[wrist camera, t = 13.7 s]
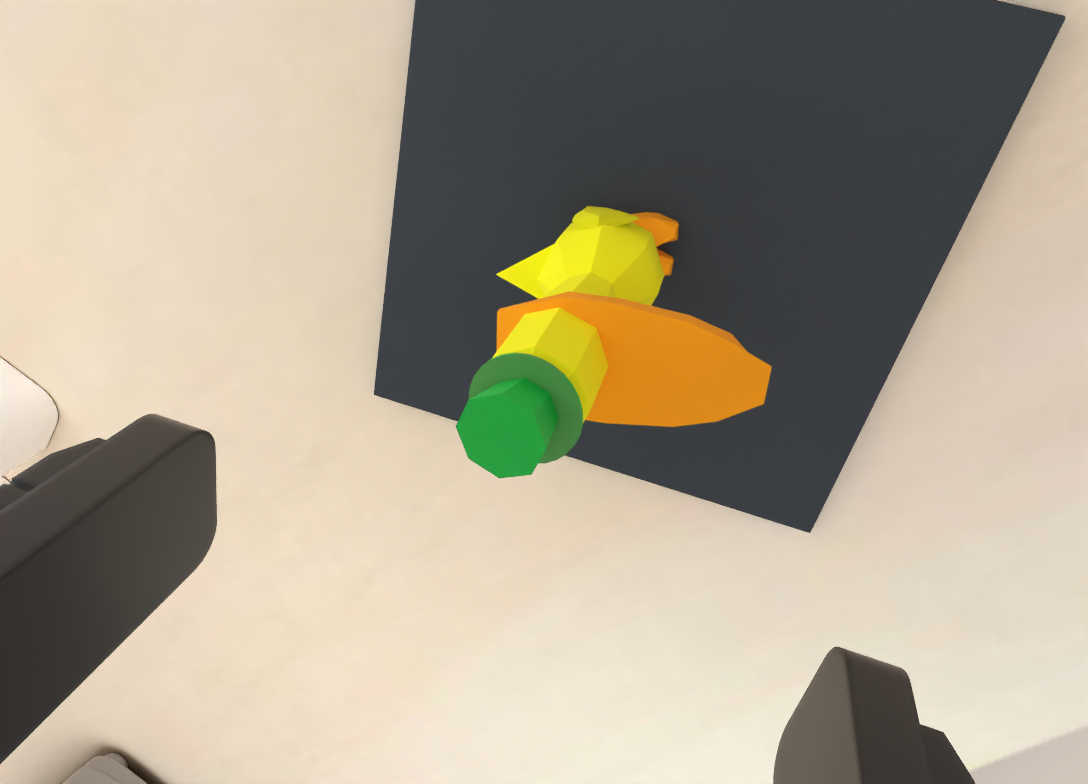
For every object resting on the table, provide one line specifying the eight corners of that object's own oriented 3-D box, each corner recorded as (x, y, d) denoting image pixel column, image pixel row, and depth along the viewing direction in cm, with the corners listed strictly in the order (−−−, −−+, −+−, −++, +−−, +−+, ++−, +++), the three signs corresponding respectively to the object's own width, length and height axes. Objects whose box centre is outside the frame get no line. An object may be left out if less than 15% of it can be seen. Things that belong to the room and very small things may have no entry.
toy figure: (775, 196, 21) (794, 386, 11) (752, 316, 23) (749, 580, 12) (540, 172, 22) (352, 321, 12) (535, 287, 24) (367, 504, 14)
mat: (1060, 15, 18) (1067, 16, 18) (809, 526, 26) (810, 533, 25) (433, -127, 20) (428, -129, 19) (377, 390, 28) (373, 394, 27)
